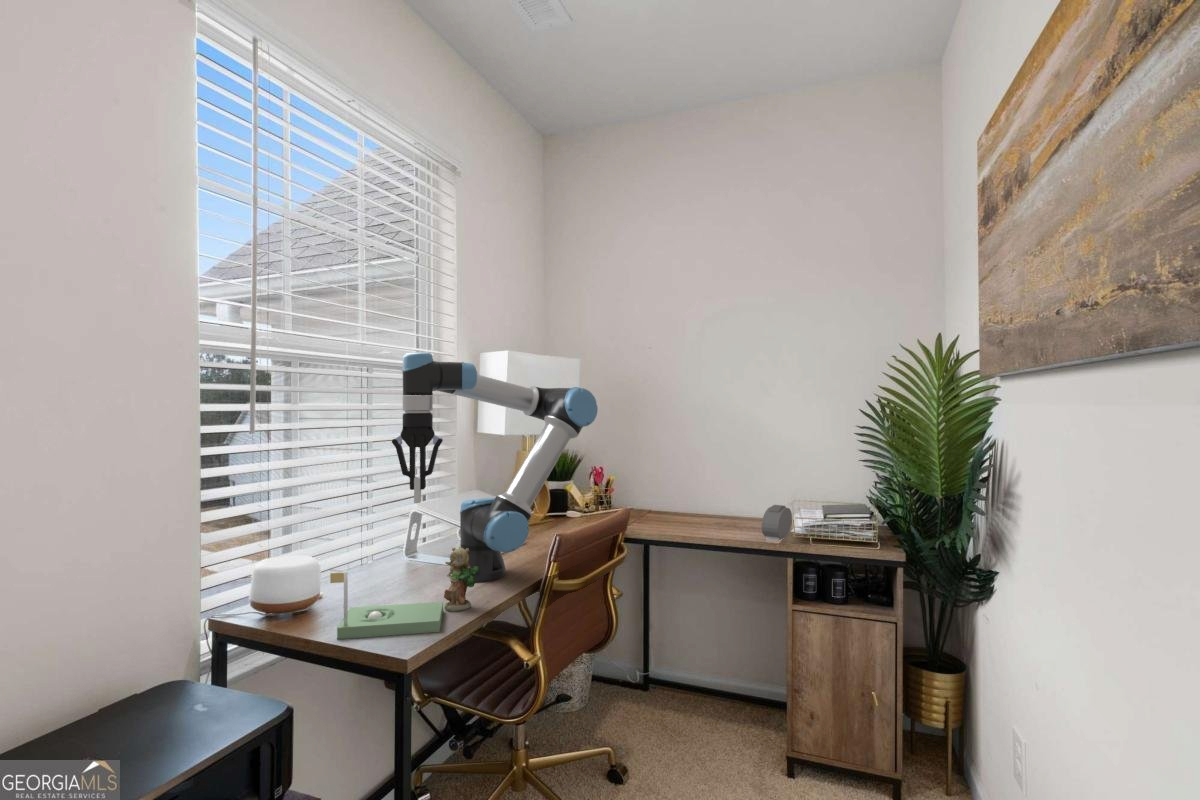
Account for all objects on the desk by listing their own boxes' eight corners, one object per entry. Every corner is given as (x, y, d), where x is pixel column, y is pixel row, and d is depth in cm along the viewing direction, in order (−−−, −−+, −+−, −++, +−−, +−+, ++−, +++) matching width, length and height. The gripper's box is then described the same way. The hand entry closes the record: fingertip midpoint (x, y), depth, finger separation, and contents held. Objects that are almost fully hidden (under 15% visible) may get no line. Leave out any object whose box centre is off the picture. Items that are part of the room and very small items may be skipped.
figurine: (437, 609, 151) (437, 550, 151) (457, 600, 158) (457, 543, 158) (464, 615, 147) (464, 554, 147) (484, 606, 153) (484, 548, 153)
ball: (384, 624, 141) (381, 610, 143) (383, 622, 138) (380, 608, 140) (369, 629, 140) (366, 614, 141) (368, 627, 137) (365, 612, 138)
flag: (347, 624, 134) (348, 571, 134) (347, 625, 134) (347, 572, 134) (330, 625, 134) (331, 572, 134) (330, 626, 133) (330, 573, 133)
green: (443, 611, 149) (443, 601, 149) (439, 631, 137) (439, 620, 137) (350, 617, 145) (350, 607, 145) (337, 639, 132) (337, 627, 132)
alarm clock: (776, 532, 239) (776, 500, 239) (791, 533, 236) (792, 501, 236) (761, 544, 219) (761, 509, 219) (778, 546, 216) (778, 511, 216)
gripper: (444, 411, 161) (444, 499, 161) (393, 411, 158) (393, 500, 158) (442, 412, 153) (442, 503, 153) (389, 412, 151) (389, 505, 151)
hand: (417, 502), depth 156 cm, fingers closed
